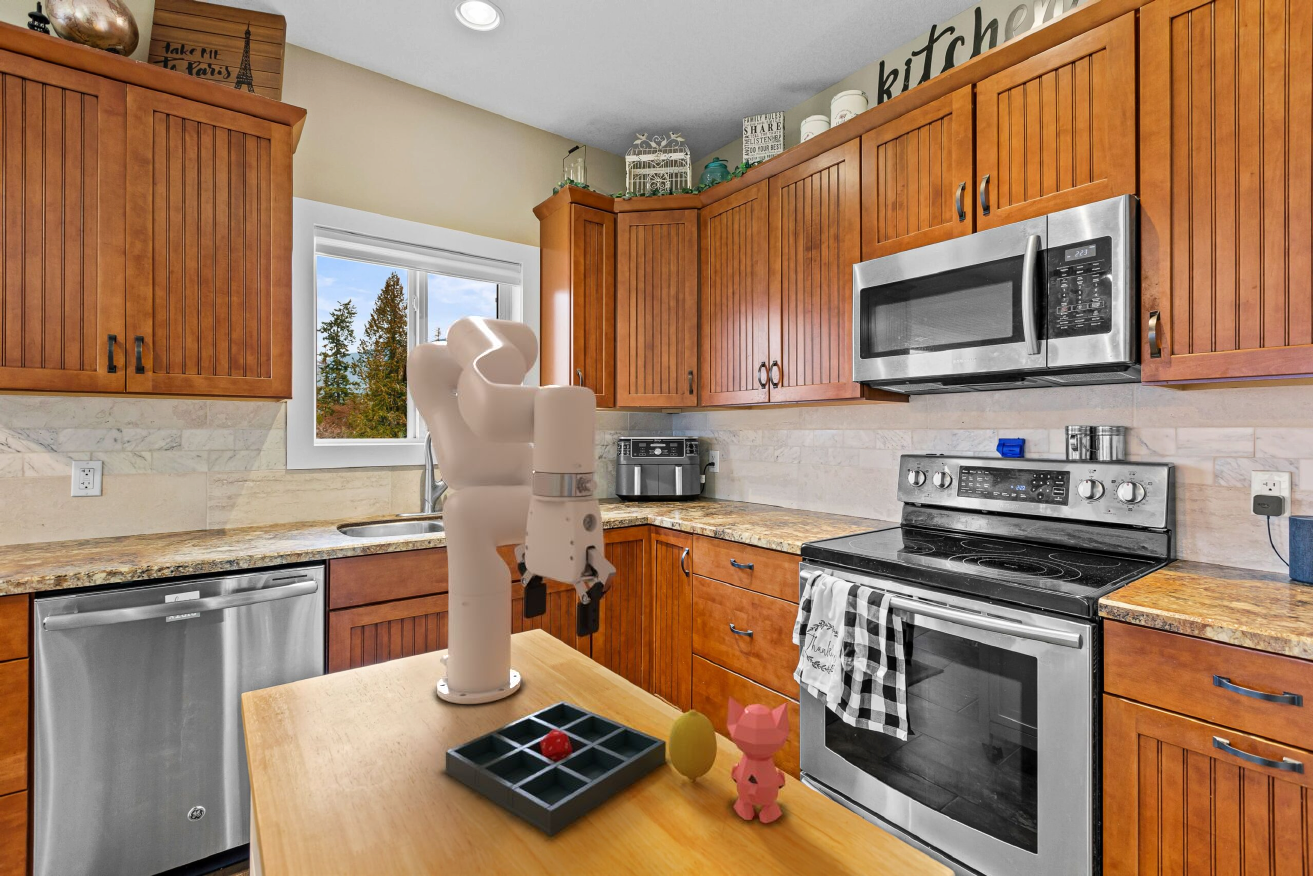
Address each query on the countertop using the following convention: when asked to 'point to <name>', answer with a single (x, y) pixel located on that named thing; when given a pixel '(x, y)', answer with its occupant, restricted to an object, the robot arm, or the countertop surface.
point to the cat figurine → (757, 757)
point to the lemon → (692, 744)
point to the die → (556, 746)
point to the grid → (555, 765)
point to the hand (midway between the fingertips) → (560, 624)
